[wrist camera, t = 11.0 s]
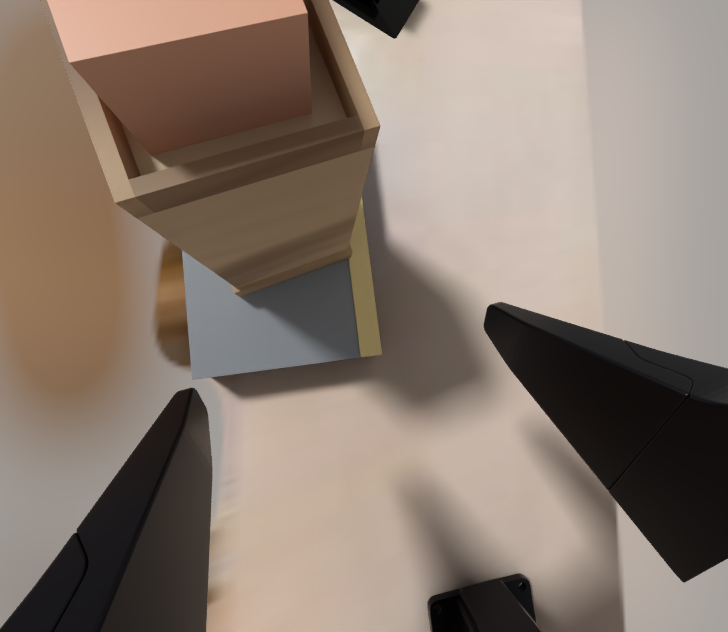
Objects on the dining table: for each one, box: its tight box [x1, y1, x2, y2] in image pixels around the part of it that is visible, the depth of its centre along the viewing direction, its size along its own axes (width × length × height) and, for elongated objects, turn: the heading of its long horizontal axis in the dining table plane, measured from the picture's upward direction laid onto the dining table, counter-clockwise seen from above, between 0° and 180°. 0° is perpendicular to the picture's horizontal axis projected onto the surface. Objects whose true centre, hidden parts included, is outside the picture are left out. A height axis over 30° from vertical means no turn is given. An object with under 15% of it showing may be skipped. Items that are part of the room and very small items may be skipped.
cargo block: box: [47, 0, 312, 155], centre depth 7 cm, size 4×4×2 cm
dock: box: [182, 197, 382, 380], centre depth 19 cm, size 16×10×3 cm, turn 7°
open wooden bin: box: [41, 0, 380, 297], centre depth 13 cm, size 6×6×11 cm
